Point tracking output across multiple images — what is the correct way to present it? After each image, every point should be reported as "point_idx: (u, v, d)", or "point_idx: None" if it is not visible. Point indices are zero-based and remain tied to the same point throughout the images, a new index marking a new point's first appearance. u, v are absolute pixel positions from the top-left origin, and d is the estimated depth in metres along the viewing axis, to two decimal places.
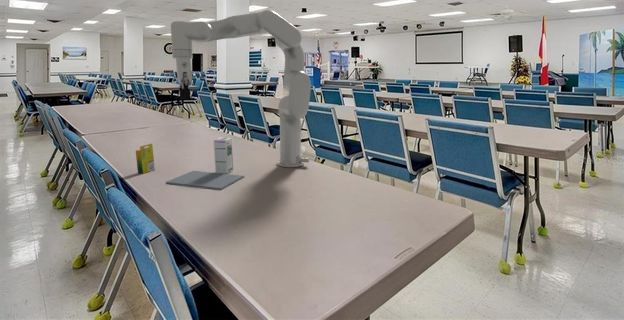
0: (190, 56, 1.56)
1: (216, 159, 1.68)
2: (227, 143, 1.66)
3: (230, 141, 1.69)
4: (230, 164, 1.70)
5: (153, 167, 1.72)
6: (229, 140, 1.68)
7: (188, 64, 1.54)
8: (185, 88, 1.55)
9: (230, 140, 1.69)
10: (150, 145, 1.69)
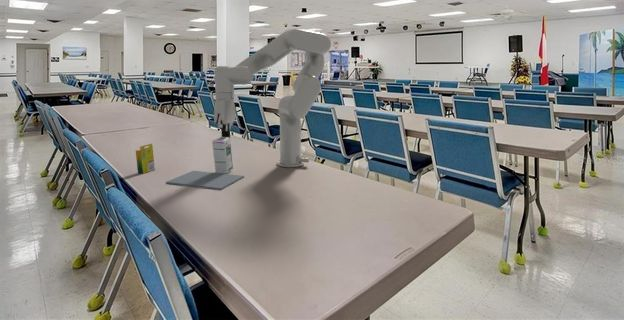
0: None
1: (215, 159, 1.67)
2: (226, 143, 1.65)
3: (229, 141, 1.68)
4: (230, 164, 1.70)
5: (153, 167, 1.72)
6: (228, 140, 1.67)
7: None
8: None
9: (229, 140, 1.68)
10: (150, 145, 1.69)
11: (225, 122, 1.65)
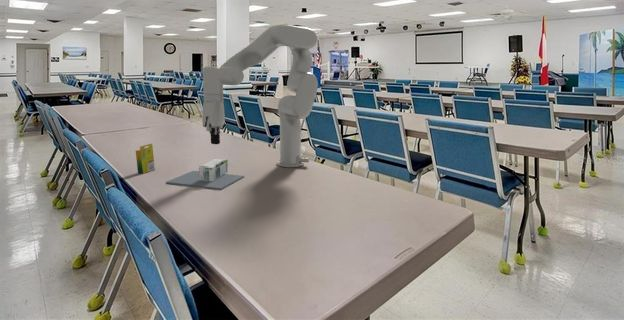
0: None
1: None
2: (214, 177, 1.55)
3: (213, 170, 1.54)
4: (224, 167, 1.64)
5: (153, 167, 1.72)
6: (212, 172, 1.54)
7: None
8: None
9: (212, 170, 1.54)
10: (150, 145, 1.69)
11: (214, 125, 1.57)
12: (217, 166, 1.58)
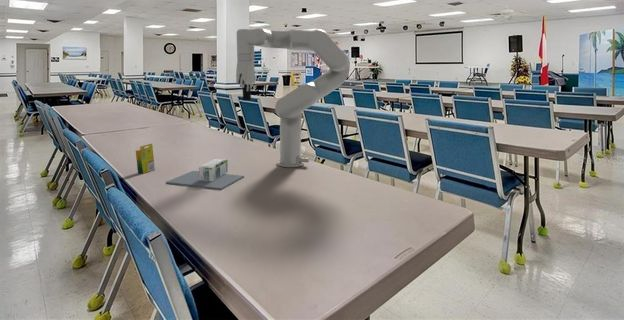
0: None
1: None
2: (214, 177, 1.55)
3: (213, 170, 1.54)
4: (224, 167, 1.64)
5: (153, 167, 1.72)
6: (212, 172, 1.54)
7: None
8: None
9: (212, 170, 1.54)
10: (150, 145, 1.69)
11: (246, 82, 1.76)
12: (217, 166, 1.58)
